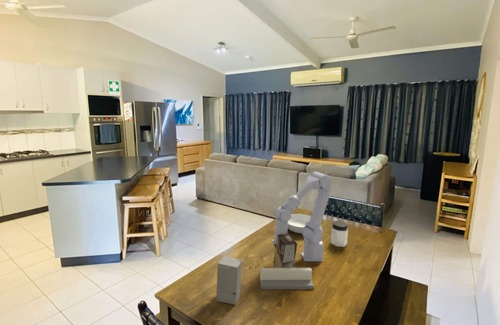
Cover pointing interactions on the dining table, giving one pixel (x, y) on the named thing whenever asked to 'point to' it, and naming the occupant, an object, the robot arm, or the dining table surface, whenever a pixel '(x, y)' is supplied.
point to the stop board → (286, 278)
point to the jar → (339, 233)
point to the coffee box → (285, 251)
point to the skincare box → (229, 280)
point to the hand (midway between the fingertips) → (279, 258)
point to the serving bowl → (298, 222)
